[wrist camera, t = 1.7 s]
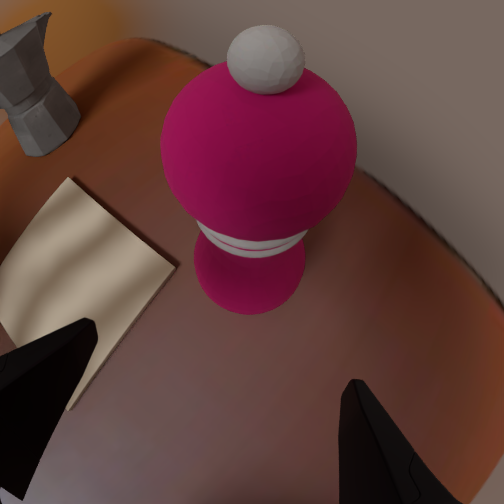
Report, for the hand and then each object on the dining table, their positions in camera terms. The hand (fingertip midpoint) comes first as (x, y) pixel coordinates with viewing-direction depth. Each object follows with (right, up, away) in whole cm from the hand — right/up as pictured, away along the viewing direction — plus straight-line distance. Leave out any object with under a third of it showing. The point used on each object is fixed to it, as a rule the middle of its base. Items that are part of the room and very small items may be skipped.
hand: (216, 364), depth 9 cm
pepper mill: (+1, +2, +15) cm, 15 cm away
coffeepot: (-25, +18, +20) cm, 37 cm away
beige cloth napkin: (-16, 0, +14) cm, 22 cm away
